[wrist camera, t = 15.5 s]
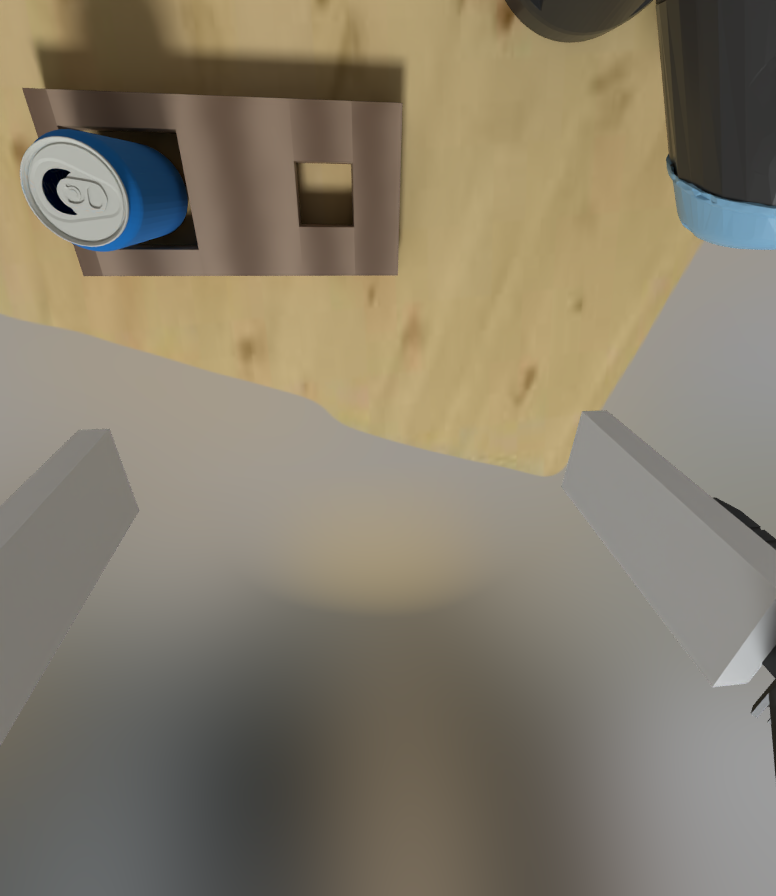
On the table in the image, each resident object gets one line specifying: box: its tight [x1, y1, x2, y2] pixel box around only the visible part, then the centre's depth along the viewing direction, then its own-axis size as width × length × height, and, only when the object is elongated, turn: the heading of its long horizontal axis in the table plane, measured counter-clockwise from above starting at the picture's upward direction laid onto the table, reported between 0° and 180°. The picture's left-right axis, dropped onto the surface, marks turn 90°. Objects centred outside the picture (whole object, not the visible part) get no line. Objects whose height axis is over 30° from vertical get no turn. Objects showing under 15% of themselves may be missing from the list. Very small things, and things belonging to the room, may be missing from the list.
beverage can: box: [20, 129, 188, 252], centre depth 30 cm, size 6×6×12 cm
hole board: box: [22, 88, 402, 276], centre depth 35 cm, size 26×12×3 cm, turn 89°
